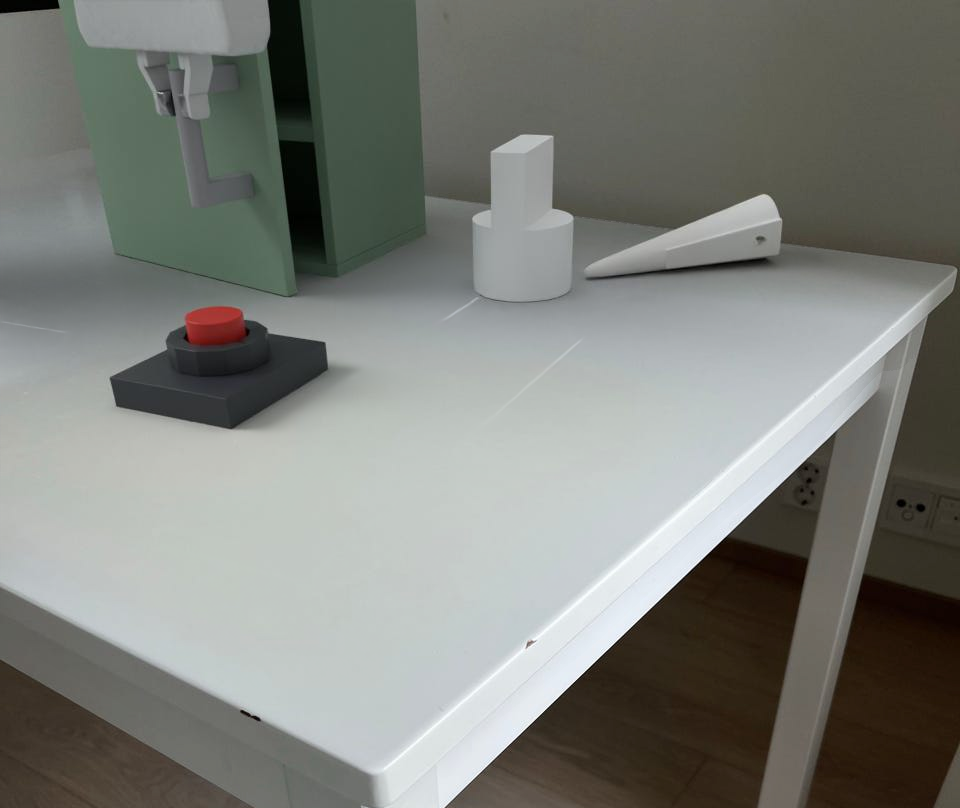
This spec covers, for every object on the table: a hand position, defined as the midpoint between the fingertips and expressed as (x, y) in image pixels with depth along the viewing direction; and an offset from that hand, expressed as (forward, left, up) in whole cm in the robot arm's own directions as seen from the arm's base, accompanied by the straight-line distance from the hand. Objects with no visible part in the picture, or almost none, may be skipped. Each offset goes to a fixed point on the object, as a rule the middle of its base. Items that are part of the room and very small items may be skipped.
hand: (184, 117), depth 80 cm
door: (0, +10, -15) cm, 18 cm away
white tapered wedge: (+41, -15, -15) cm, 46 cm away
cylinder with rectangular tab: (+25, -12, -15) cm, 32 cm away
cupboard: (+14, +17, -15) cm, 27 cm away
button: (-7, -19, -12) cm, 23 cm away
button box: (-7, -19, -15) cm, 25 cm away
